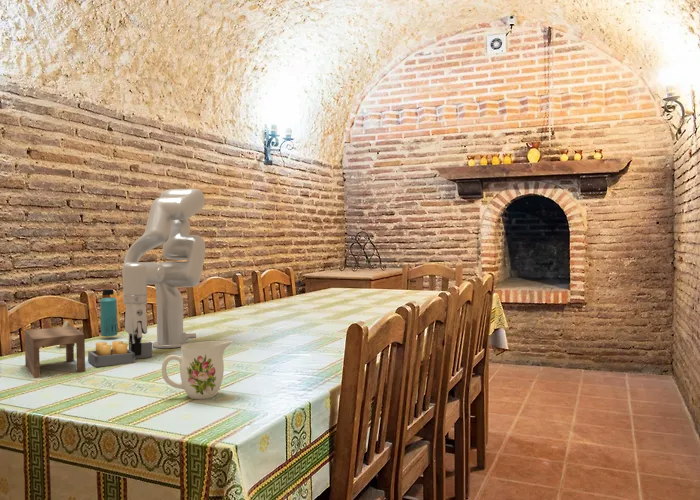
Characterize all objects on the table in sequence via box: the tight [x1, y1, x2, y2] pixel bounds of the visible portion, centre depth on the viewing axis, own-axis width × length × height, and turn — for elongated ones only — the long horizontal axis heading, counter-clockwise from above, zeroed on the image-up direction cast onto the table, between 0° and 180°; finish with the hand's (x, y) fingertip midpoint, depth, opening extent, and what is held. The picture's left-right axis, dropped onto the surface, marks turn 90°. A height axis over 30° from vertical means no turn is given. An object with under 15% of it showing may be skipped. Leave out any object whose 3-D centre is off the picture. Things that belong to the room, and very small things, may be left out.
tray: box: [87, 340, 153, 368], centre depth 199 cm, size 19×11×6 cm, turn 125°
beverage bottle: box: [99, 288, 119, 337], centre depth 242 cm, size 6×7×20 cm
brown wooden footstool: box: [24, 325, 86, 379], centre depth 189 cm, size 14×20×11 cm
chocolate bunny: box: [58, 320, 76, 349], centre depth 226 cm, size 6×8×10 cm
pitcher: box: [161, 340, 234, 400], centre depth 155 cm, size 11×18×14 cm, turn 105°
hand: (135, 354), depth 202 cm, fingers closed on tray
